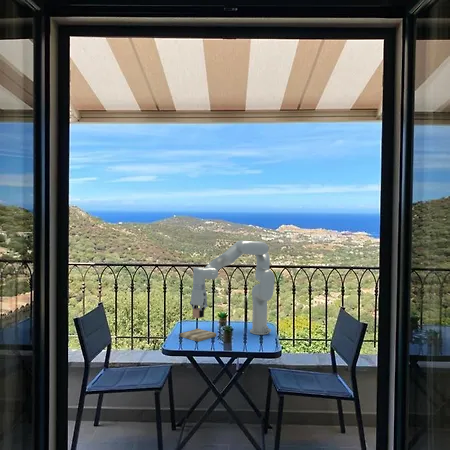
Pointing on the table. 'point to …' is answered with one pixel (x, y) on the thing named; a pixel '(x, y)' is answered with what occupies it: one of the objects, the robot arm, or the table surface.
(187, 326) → the table surface
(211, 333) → the oak board
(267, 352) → the table surface
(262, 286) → the robot arm
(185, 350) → the table surface
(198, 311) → the cube
